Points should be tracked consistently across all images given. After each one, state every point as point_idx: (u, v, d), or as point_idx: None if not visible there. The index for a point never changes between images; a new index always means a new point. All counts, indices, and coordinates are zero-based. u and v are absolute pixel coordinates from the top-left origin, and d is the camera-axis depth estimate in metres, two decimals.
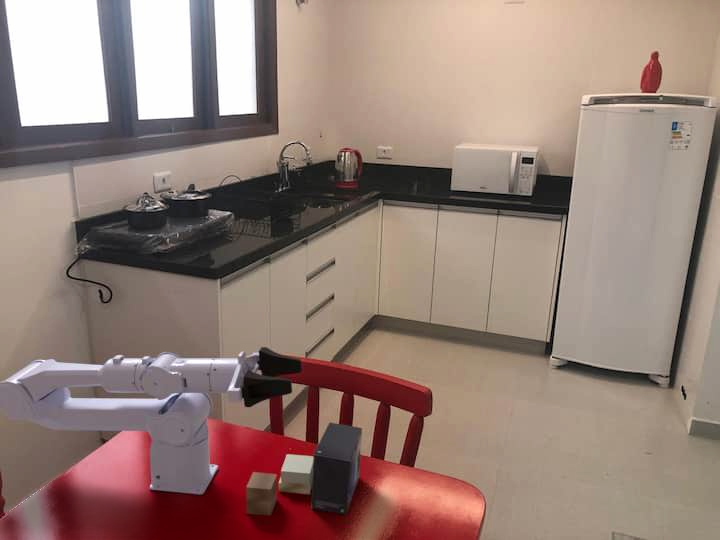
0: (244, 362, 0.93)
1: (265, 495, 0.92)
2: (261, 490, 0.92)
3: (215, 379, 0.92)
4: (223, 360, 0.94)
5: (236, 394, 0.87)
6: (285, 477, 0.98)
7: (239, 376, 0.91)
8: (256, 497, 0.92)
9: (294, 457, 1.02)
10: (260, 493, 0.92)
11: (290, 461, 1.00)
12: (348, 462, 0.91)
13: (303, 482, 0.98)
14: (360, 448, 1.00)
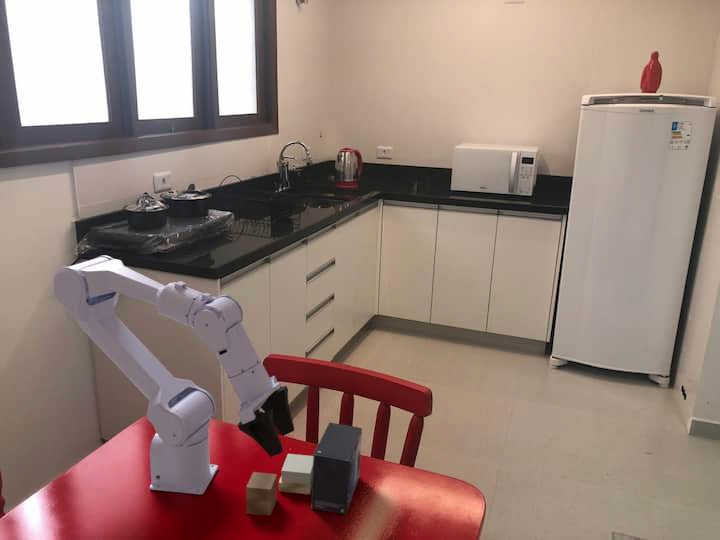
0: None
1: (265, 495, 0.92)
2: (261, 490, 0.92)
3: (245, 378, 0.88)
4: (263, 371, 0.91)
5: (248, 417, 0.85)
6: (285, 477, 0.98)
7: (261, 401, 0.88)
8: (256, 497, 0.92)
9: (295, 456, 1.02)
10: (260, 493, 0.92)
11: (291, 461, 1.00)
12: (348, 462, 0.91)
13: (303, 482, 0.98)
14: (360, 448, 1.00)
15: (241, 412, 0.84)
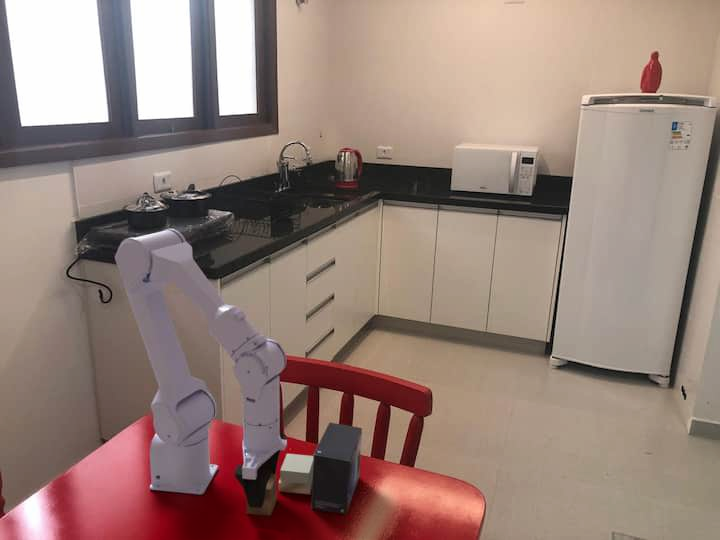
0: None
1: (265, 495, 0.92)
2: None
3: (260, 431, 0.88)
4: (278, 428, 0.90)
5: (251, 475, 0.85)
6: (284, 476, 0.98)
7: None
8: None
9: (294, 456, 1.02)
10: None
11: (290, 461, 1.01)
12: (348, 462, 0.91)
13: (302, 482, 0.98)
14: (360, 448, 1.00)
15: (246, 468, 0.85)
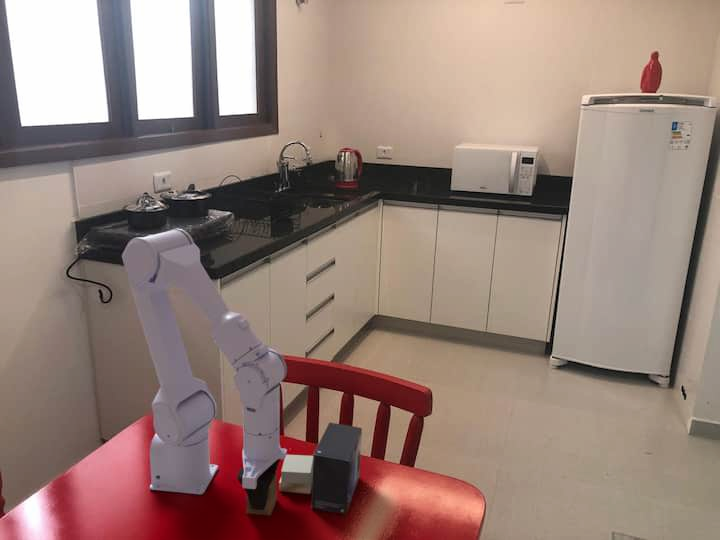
0: None
1: None
2: None
3: (260, 441, 0.88)
4: (278, 437, 0.91)
5: (251, 485, 0.86)
6: (285, 477, 0.98)
7: None
8: None
9: (293, 457, 1.02)
10: None
11: (289, 462, 1.00)
12: (348, 462, 0.91)
13: (303, 482, 0.98)
14: (360, 448, 1.00)
15: (246, 478, 0.85)
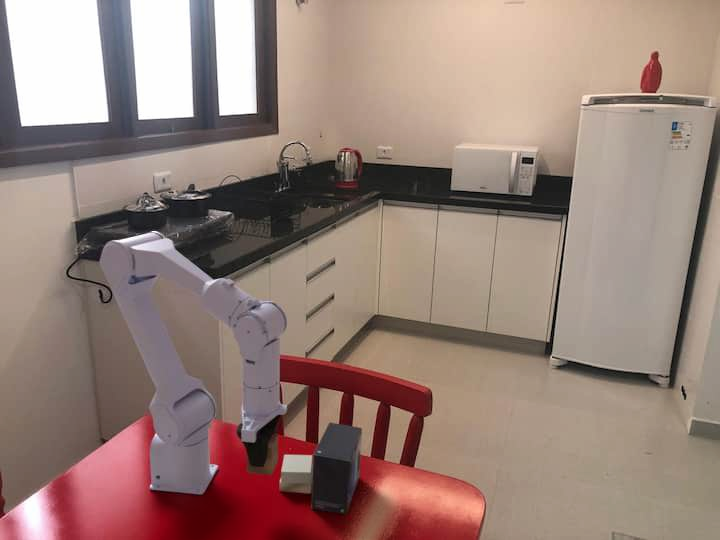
0: None
1: None
2: None
3: (260, 394, 0.86)
4: (278, 392, 0.89)
5: (250, 438, 0.83)
6: (285, 477, 0.98)
7: None
8: None
9: (292, 457, 1.02)
10: None
11: (289, 462, 1.00)
12: (348, 462, 0.91)
13: (304, 481, 0.98)
14: (360, 448, 1.00)
15: (246, 431, 0.83)
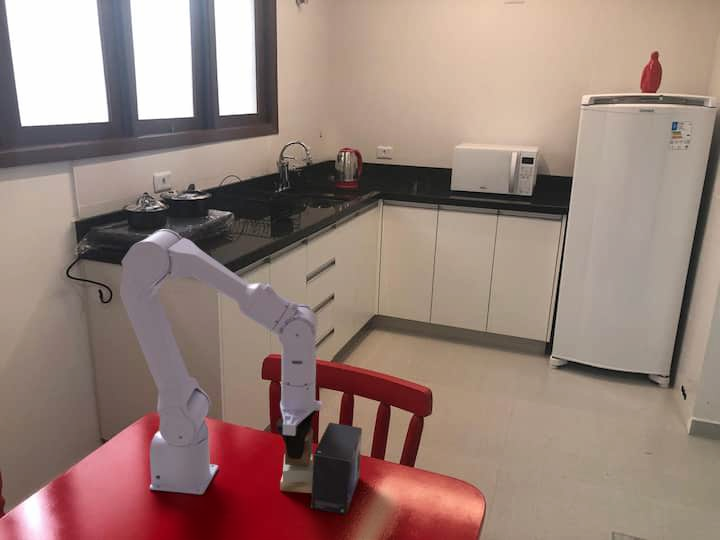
0: None
1: None
2: None
3: (299, 391, 0.93)
4: (314, 389, 0.96)
5: (290, 432, 0.90)
6: (287, 477, 0.98)
7: None
8: None
9: None
10: None
11: None
12: (348, 462, 0.91)
13: (305, 480, 0.99)
14: (360, 448, 1.00)
15: (287, 425, 0.90)
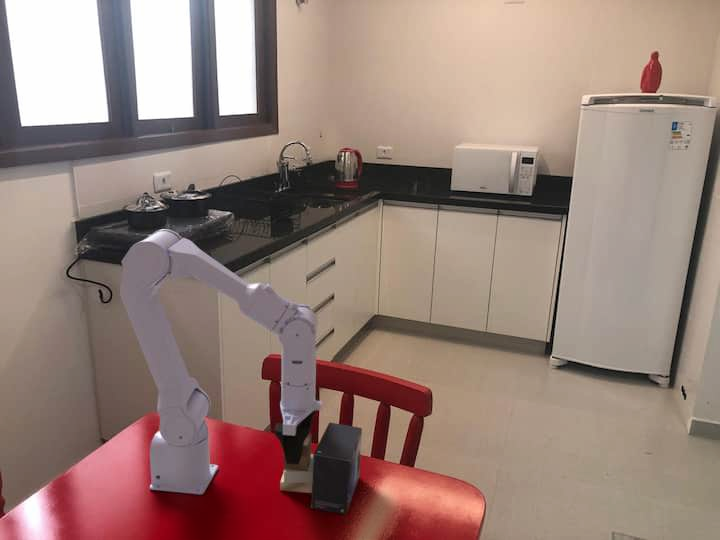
0: None
1: (302, 451, 0.97)
2: None
3: (299, 391, 0.93)
4: (314, 389, 0.96)
5: (290, 432, 0.90)
6: (288, 477, 0.98)
7: None
8: None
9: None
10: None
11: None
12: (348, 462, 0.91)
13: (306, 480, 0.99)
14: (360, 448, 1.00)
15: (287, 425, 0.90)
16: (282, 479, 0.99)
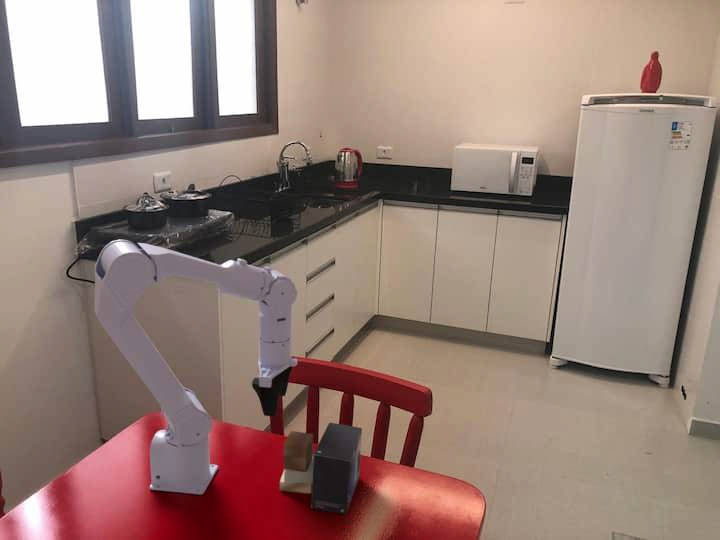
0: None
1: (301, 452, 0.97)
2: (297, 447, 0.97)
3: (274, 348, 1.00)
4: (290, 347, 1.03)
5: (266, 384, 0.98)
6: (289, 477, 0.98)
7: None
8: (293, 453, 0.97)
9: None
10: (297, 450, 0.97)
11: None
12: (348, 462, 0.91)
13: (307, 481, 0.98)
14: (360, 448, 1.00)
15: (263, 377, 0.97)
16: (282, 479, 0.99)
